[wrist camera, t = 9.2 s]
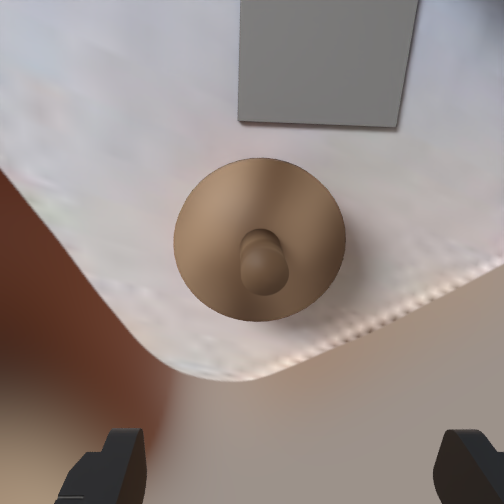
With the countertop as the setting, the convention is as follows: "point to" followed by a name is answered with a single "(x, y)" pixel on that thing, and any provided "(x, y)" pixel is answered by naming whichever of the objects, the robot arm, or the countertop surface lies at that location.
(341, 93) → the mat
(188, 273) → the lid
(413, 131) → the countertop surface
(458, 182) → the countertop surface
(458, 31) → the countertop surface
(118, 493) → the robot arm
